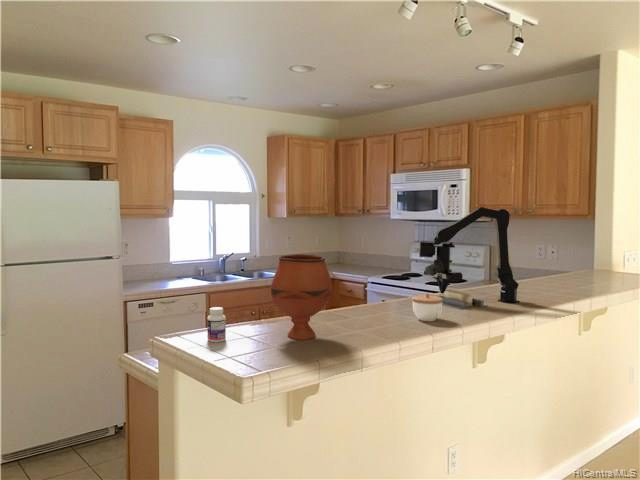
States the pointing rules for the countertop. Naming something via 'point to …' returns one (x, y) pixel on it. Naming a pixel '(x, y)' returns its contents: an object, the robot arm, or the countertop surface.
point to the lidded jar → (427, 307)
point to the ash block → (460, 296)
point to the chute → (461, 302)
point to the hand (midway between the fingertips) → (442, 293)
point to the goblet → (301, 290)
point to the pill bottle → (216, 325)
